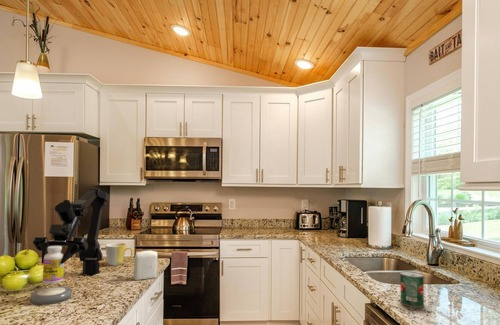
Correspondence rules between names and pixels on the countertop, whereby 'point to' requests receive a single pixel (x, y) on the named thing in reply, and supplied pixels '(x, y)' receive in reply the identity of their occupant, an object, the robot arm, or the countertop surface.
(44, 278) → the supplement bottle
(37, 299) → the charcoal trivet
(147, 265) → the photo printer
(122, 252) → the mug
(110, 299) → the countertop surface
